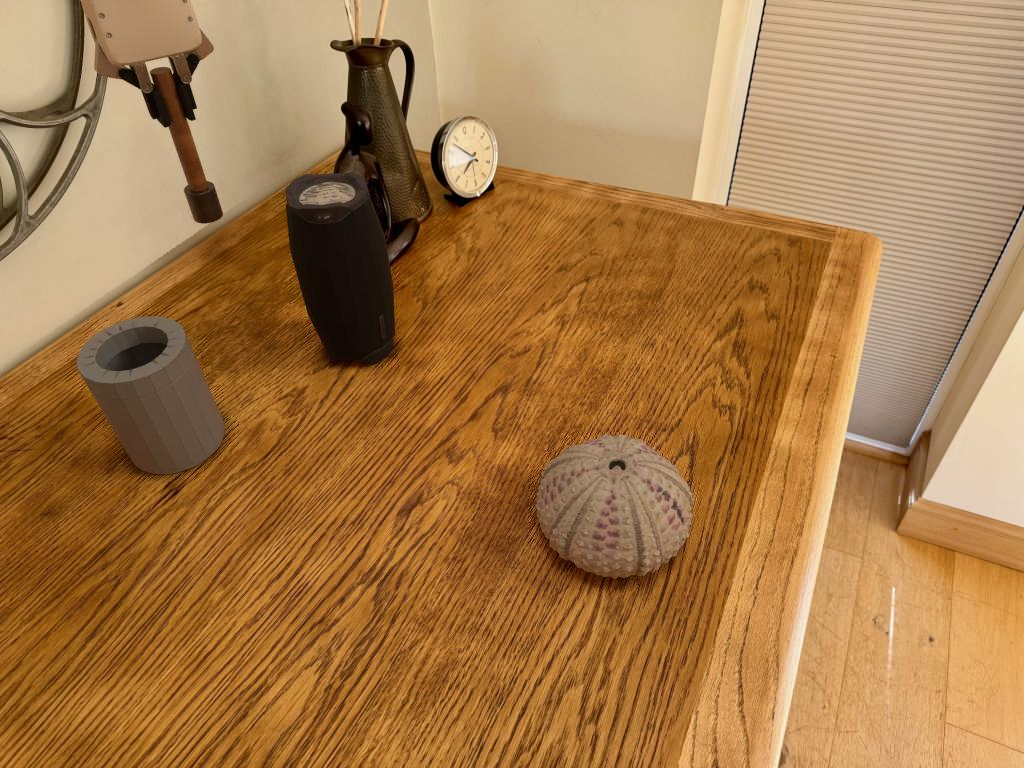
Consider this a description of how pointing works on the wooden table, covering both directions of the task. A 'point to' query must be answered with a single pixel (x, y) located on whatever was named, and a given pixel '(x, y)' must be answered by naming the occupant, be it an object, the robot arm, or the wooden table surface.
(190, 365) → the hollow cylinder
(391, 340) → the portable speaker
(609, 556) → the sea urchin shell
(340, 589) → the wooden table surface
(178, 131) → the brown pestle
